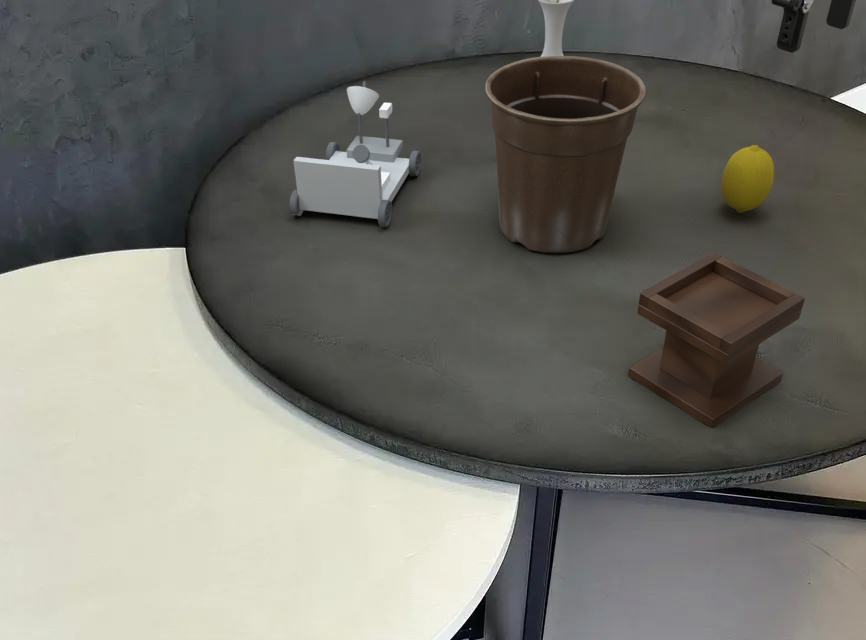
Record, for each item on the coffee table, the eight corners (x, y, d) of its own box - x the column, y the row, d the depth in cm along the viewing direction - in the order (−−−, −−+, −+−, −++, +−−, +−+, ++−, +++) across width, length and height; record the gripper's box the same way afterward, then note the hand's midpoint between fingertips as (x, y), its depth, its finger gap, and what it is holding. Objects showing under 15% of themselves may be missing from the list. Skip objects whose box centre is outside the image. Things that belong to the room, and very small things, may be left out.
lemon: (706, 205, 115) (719, 139, 109) (749, 197, 116) (764, 130, 110) (730, 228, 111) (745, 161, 105) (774, 219, 112) (791, 152, 106)
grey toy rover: (334, 73, 120) (425, 82, 118) (341, 151, 127) (427, 160, 125) (280, 139, 108) (380, 150, 106) (291, 220, 115) (385, 232, 113)
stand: (780, 381, 92) (805, 297, 85) (711, 428, 88) (731, 343, 81) (696, 334, 98) (713, 251, 91) (627, 375, 93) (640, 292, 87)
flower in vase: (498, 91, 138) (504, -114, 120) (577, 82, 140) (594, -122, 122) (522, 131, 129) (532, -83, 111) (606, 122, 131) (629, -92, 113)
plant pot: (598, 184, 119) (613, 46, 107) (648, 253, 108) (670, 107, 96) (467, 202, 117) (468, 63, 105) (504, 274, 106) (510, 128, 94)
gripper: (854, -130, 81) (803, 69, 93) (943, -163, 87) (885, 28, 99) (777, -146, 85) (737, 47, 97) (867, -176, 91) (820, 9, 103)
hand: (812, 37), depth 98 cm, fingers open, 8 cm apart
